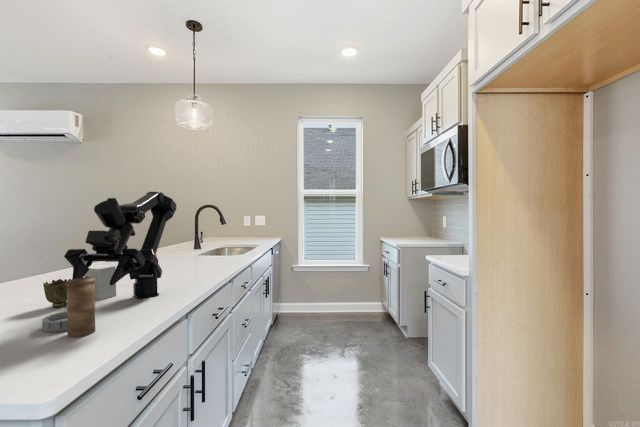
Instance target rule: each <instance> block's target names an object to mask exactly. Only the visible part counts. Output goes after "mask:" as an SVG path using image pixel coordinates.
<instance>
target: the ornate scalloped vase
mask: <svg viewBox="0 0 640 427" xmlns="http://www.w3.org/2000/svg"><path fill="white" fill-rule="evenodd" d="M71 279H72V278H69V279H67V278H65V279H64V280H63V279H60V278H58V279H57V280H55V279H52V281H51V282H48V281H45V282H43V284H42V285H43V290H44V296H45V299H46V301H48V302H49V303H52V304H51V306H52V308H54V309H55V308H56V309H59V308H64V307H67V286H66V281H68V280H71Z"/></svg>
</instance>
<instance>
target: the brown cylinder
mask: <svg viewBox="0 0 640 427" xmlns="http://www.w3.org/2000/svg"><path fill="white" fill-rule="evenodd" d="M70 279H71V280H69V279H67V281H66V286H67V305H66V311H67V327H68V330H67V337H68V338H72V339H74V338H75V339H76V338H83V337H86V336H90V335H91V334H94V333H95V332H96V299H95V282H96V278H93V277H86V278H84V277H83V278H77V279H72V278H70Z"/></svg>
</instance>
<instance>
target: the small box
mask: <svg viewBox="0 0 640 427" xmlns="http://www.w3.org/2000/svg"><path fill="white" fill-rule="evenodd" d="M88 268H89V271H88V272H87V273H86V274H85V276H84V277H83V278H86V277H93V278H96V282H95V301H96V300H97V301H98V300H99V301H102V300H105V299H109V298H112V297H116V296H117V282H116V283H115V284H114V285H112V286H111V285H110V284H109V283H110V280H111V277H112V275H113V273H114V271H115V269H116V265H104V264H97V265H91V266H90V267H88Z"/></svg>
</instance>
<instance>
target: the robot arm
mask: <svg viewBox="0 0 640 427" xmlns="http://www.w3.org/2000/svg"><path fill="white" fill-rule="evenodd" d="M93 211H94V213H95V214H96V216H97V217H98V220H99V221H100V223H102V225H103V226H104V227H105V228H109V229H108V230H88V233H87V235H86V238H85V244H88V245H91V246H92V247H91V249H92V251H93V252H95V253H89V252H88V251H87V250H86V249H85V248H70V249H68V250H67V251H66V252H65V254H64V256H63V257H64V258H65V259H66V260H67V262H68V264H70V265H71V266H72V270H73V271H72V278H71V279H77V278H84V276H85V274H86V273H87V272H88V271H89V268H88V267H91V266H92V265H93V262H105V263H108V262H109V263H113V262H114V263H115V262H117V266H115V271H114V273H113V275H112V277H111V280H110V283H109V284H110V285H111V286H112V285H114V284H115V283H116V284H117V282H119V281H120V280H122V279H123V278H125V277H126V276H127V275H129V279H130V280H135V281H134V283H133V284H132V285H133V289H132V291H133V296H134V297H135V298H136V299H139V300H140V299H144V298H146V299H147V298H152V297H156V296H159V295H160V293H159V292H158V279H161V278H162V274H163V269H162V268H161V266H160V264H159V259H158V256H157V252H158V248H159V246H160V242H161V239H162V236H163V233H164V230H165V227H166V224H167V222H168V221H170V220H171V219H172V218H173V217H174V214H175V213H176V211H177V203H176V202H175V201H174V200H173V198H171V197H170V196H167V195H165V194H164V193H163V192H161V191H148V192H146V194H144V195H143V196H141V197H140V198H138V199H136V200H135V201H133V202H130V203H123V204H120V205H119V202H118V200H117V198H116V197H108V198H107V200H103V201H100V202H99V203H98V204H96V205H94V208H93ZM149 211H150V212H151V215H152V217H151V218H152V219H151V221H150V224H149V226H148V230H147V232H146V235H145V238H144V240H143V243H142V246H141V247H140V248H141V249H140V248H136V247H135V248H129V247H128V245H127V243H128V242H129V239H130V238H131V237H134V236H136V232H135V230H134V229H135V227H134V226H133V225H132V224H136V225H137V224H138V225H139V224H141V223H142V222H143V221H144V219H145V218H146V213H147V212H149Z"/></svg>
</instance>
